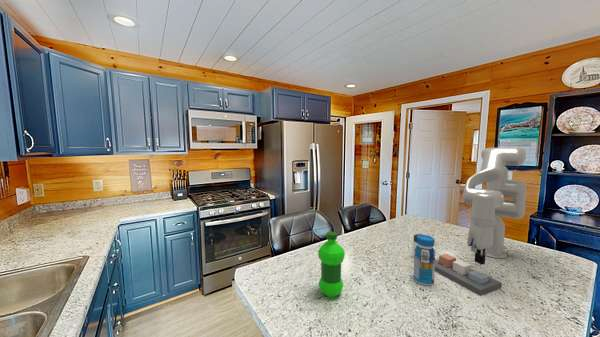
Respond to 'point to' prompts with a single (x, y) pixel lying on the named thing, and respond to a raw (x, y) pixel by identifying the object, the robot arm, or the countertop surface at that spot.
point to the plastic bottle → (331, 266)
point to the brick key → (446, 260)
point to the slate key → (478, 277)
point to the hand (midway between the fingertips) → (479, 262)
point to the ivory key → (461, 267)
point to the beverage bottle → (424, 260)
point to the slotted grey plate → (468, 280)
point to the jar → (414, 244)
